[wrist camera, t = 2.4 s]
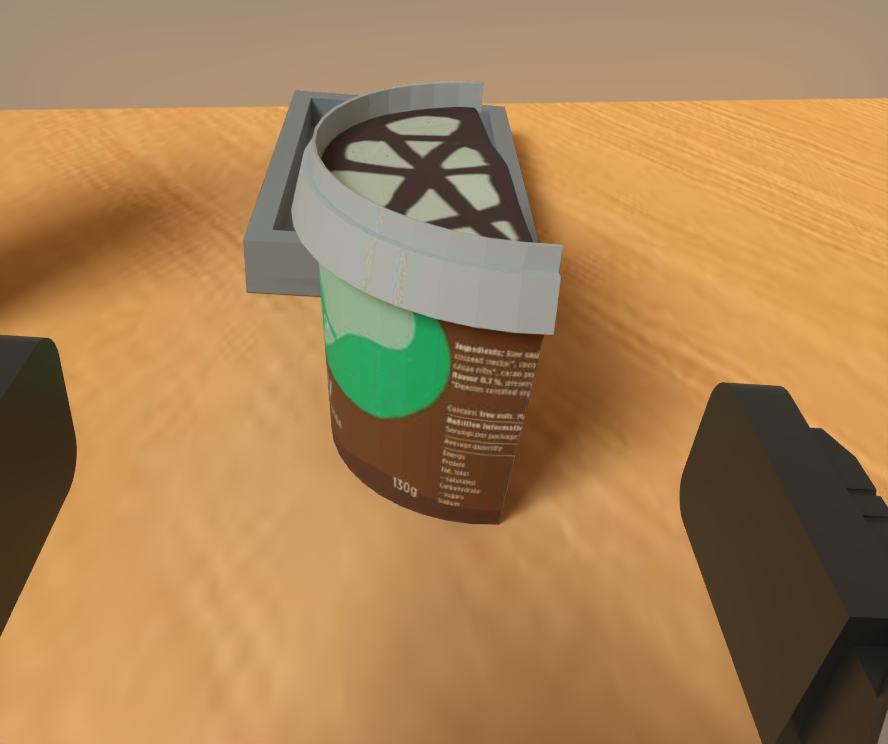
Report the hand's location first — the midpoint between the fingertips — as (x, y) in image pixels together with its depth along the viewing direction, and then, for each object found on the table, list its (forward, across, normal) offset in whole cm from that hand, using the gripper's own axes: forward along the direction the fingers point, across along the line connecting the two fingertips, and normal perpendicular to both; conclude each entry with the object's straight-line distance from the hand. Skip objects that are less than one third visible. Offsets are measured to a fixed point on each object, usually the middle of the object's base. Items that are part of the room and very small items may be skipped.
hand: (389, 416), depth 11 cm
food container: (+14, 0, +12) cm, 18 cm away
